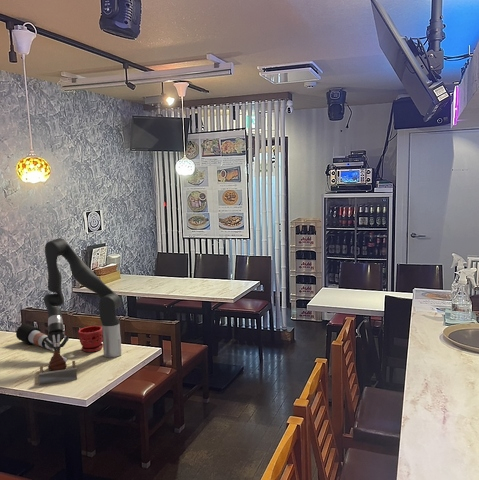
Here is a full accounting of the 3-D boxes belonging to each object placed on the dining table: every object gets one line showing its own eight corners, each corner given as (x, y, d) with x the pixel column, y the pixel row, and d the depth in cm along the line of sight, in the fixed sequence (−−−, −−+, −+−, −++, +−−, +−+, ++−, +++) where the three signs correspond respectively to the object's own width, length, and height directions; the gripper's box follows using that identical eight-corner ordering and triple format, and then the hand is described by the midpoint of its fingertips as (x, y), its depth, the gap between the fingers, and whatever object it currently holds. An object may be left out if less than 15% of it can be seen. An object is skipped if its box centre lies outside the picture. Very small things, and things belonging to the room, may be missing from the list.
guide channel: (40, 370, 236) (39, 360, 236) (75, 365, 242) (74, 355, 242) (39, 385, 218) (38, 374, 218) (77, 379, 224) (76, 369, 224)
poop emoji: (44, 369, 238) (43, 351, 237) (60, 364, 245) (59, 346, 244) (54, 373, 232) (53, 355, 231) (70, 368, 238) (69, 350, 237)
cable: (56, 360, 263) (48, 347, 257) (20, 343, 281) (13, 331, 276) (69, 347, 269) (62, 335, 264) (34, 332, 288) (27, 320, 282)
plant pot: (95, 344, 275) (94, 324, 273) (108, 348, 266) (107, 328, 265) (74, 350, 265) (73, 329, 263) (88, 355, 256) (86, 333, 255)
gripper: (41, 323, 251) (43, 353, 241) (68, 320, 256) (70, 349, 246) (42, 330, 256) (44, 359, 246) (68, 327, 261) (70, 355, 251)
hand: (57, 354), depth 246 cm, fingers closed
